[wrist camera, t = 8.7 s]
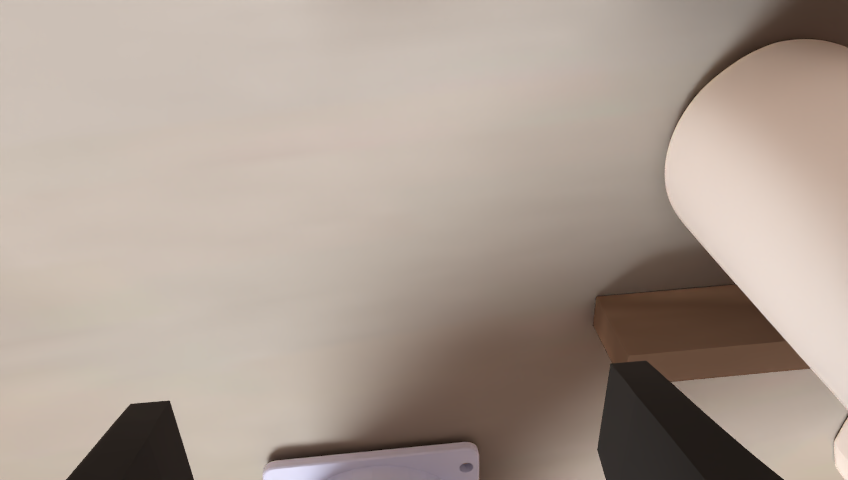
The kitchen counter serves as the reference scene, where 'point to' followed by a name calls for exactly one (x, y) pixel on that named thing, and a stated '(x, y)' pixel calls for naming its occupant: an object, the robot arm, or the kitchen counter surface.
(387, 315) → the kitchen counter surface
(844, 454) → the white cup
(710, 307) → the bay
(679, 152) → the can
